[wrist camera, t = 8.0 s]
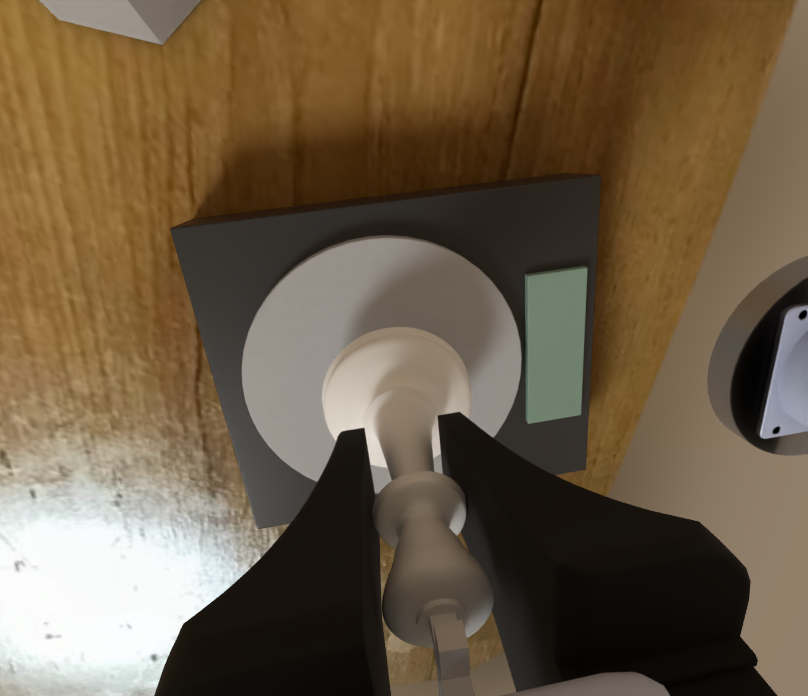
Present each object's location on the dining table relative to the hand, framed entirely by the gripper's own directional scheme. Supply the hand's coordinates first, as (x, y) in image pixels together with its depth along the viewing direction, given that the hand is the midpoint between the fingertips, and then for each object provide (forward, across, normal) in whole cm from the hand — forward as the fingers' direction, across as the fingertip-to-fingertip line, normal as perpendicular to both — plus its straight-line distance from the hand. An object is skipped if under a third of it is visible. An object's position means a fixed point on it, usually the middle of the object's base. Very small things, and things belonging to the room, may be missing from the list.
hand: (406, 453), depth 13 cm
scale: (+8, -1, 0) cm, 8 cm away
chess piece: (+3, 0, 0) cm, 4 cm away
